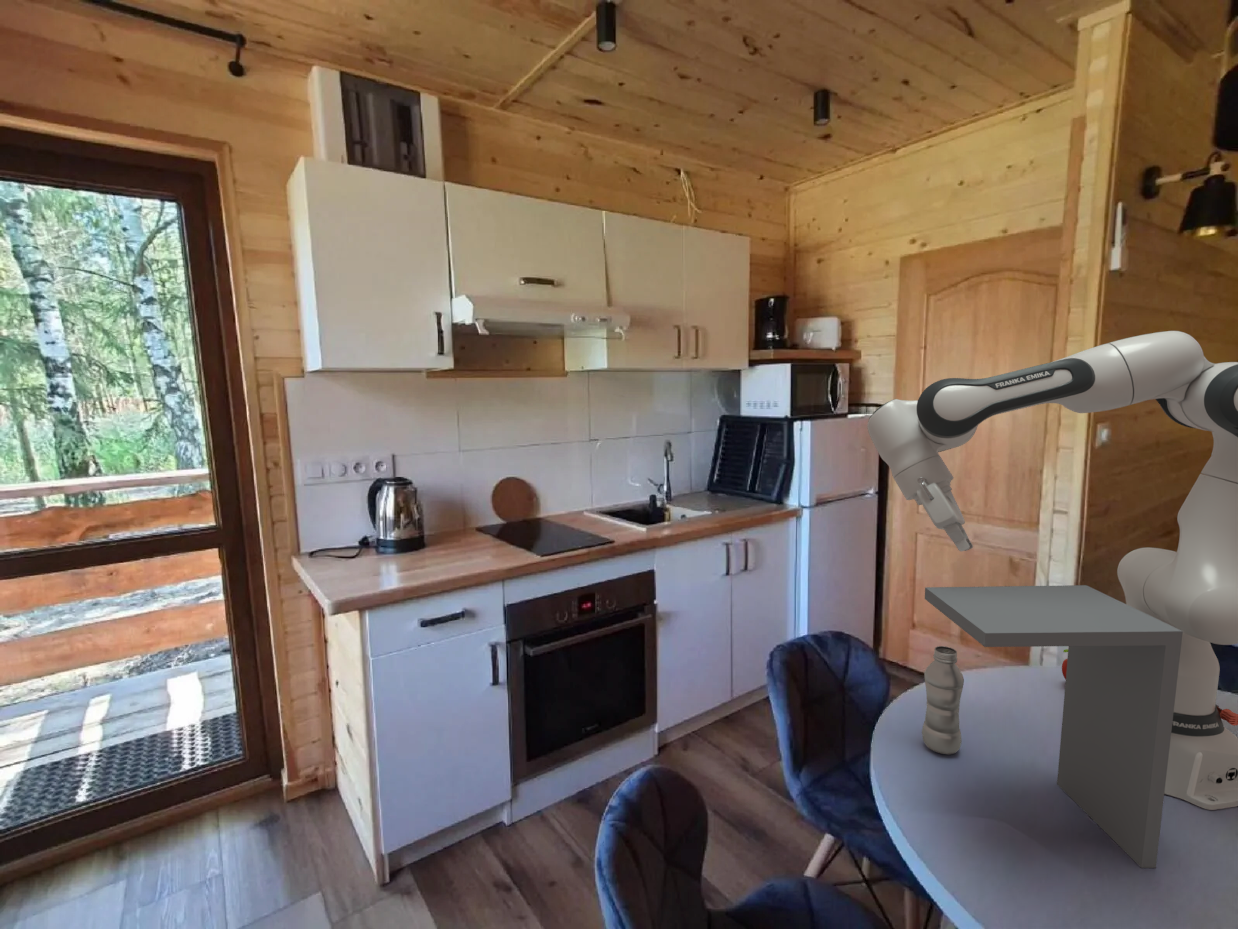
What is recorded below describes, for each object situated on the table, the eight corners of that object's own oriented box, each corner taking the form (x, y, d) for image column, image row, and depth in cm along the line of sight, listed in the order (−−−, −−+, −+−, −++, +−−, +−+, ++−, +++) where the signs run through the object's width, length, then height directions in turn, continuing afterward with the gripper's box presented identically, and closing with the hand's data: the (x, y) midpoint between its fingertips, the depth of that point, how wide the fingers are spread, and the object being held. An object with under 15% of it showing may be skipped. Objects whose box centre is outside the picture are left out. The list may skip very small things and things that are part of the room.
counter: (1068, 784, 104) (1086, 585, 99) (1155, 868, 87) (1182, 631, 81) (915, 783, 106) (925, 587, 100) (970, 866, 88) (985, 633, 83)
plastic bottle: (966, 761, 111) (972, 659, 108) (926, 757, 113) (931, 657, 110) (954, 740, 118) (959, 643, 115) (916, 737, 119) (921, 641, 116)
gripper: (935, 467, 101) (982, 542, 96) (947, 478, 118) (987, 542, 113) (899, 485, 104) (943, 558, 99) (915, 493, 121) (954, 556, 116)
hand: (967, 549), depth 106 cm, fingers open, 8 cm apart
